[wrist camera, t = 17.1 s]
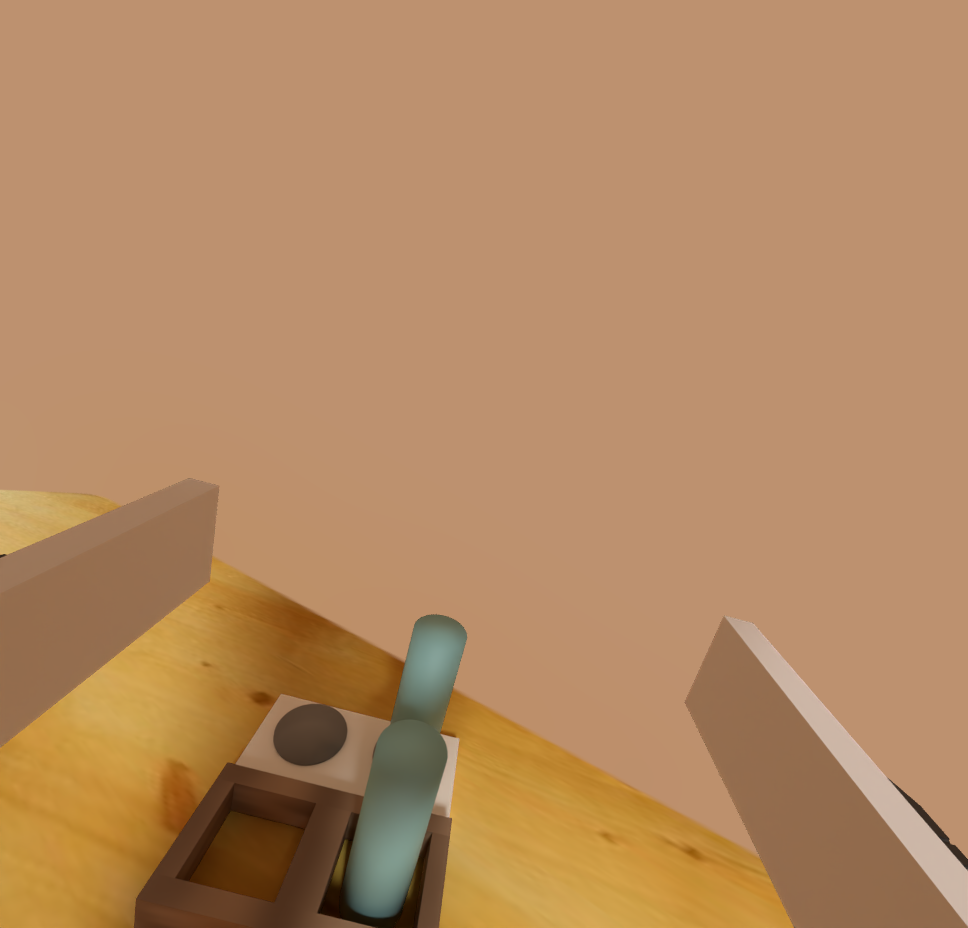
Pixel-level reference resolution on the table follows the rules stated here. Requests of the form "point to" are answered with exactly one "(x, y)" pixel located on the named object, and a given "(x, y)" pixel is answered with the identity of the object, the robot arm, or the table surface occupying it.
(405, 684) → the pin
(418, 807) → the teal pin
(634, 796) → the table surface
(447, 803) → the pattern plate
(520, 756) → the table surface
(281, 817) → the brown wooden peg holder
